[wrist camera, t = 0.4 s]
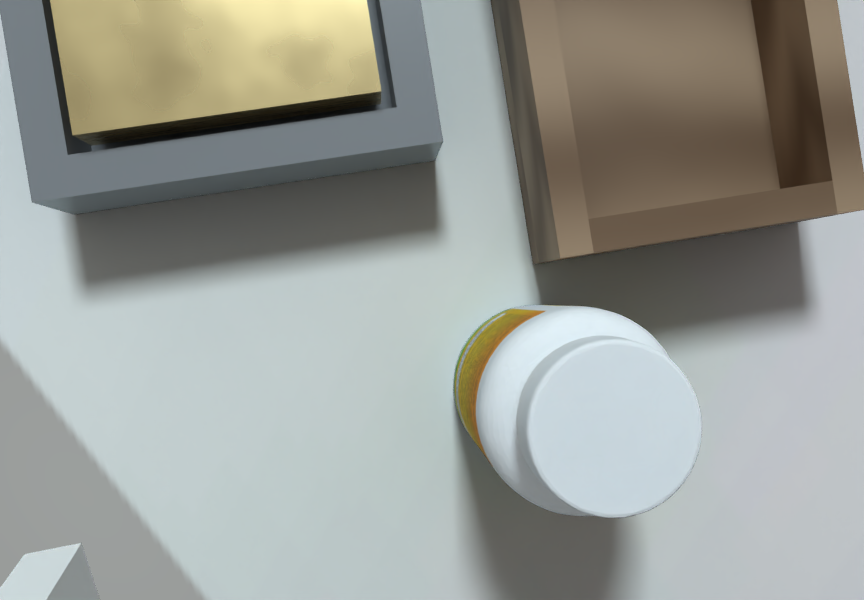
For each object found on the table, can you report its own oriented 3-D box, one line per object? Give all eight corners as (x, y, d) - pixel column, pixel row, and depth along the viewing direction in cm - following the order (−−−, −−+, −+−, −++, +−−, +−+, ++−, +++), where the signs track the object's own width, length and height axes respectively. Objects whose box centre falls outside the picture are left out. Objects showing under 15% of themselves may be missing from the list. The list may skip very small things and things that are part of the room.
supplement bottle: (460, 472, 27) (509, 569, 17) (442, 314, 27) (480, 322, 17) (615, 451, 27) (748, 535, 18) (597, 295, 27) (720, 293, 18)
